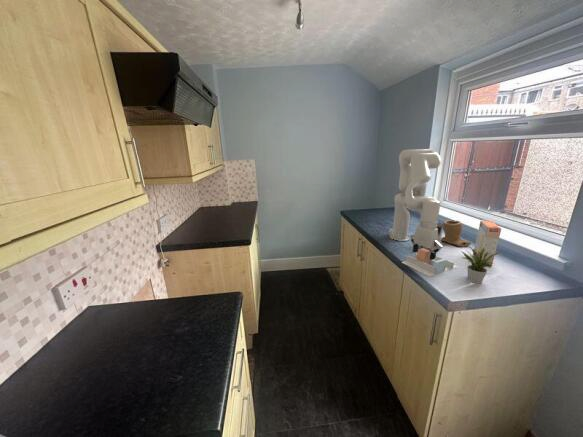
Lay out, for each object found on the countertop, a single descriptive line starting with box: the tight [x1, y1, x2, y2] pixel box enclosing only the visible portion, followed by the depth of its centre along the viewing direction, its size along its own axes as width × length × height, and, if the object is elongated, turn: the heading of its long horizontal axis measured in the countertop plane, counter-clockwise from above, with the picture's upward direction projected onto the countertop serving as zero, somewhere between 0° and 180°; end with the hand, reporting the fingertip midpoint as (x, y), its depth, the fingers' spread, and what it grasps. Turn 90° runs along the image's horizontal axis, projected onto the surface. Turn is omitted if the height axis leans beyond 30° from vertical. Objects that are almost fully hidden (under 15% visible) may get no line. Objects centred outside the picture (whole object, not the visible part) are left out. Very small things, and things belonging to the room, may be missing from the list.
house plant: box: [460, 245, 503, 285], centre depth 105 cm, size 14×14×16 cm
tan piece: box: [441, 219, 472, 247], centre depth 148 cm, size 15×12×15 cm
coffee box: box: [420, 223, 444, 251], centre depth 139 cm, size 9×6×16 cm
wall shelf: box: [401, 252, 459, 277], centre depth 121 cm, size 16×22×7 cm
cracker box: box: [472, 220, 502, 266], centre depth 124 cm, size 14×6×21 cm, turn 153°
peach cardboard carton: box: [417, 248, 431, 264], centre depth 120 cm, size 4×4×8 cm
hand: (423, 255), depth 120 cm, fingers open, 9 cm apart
